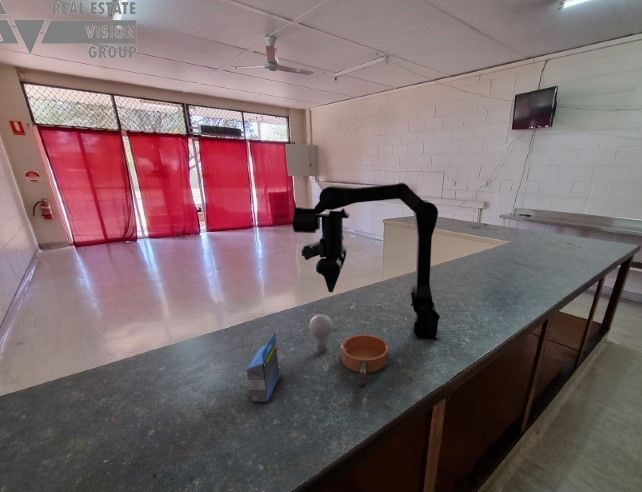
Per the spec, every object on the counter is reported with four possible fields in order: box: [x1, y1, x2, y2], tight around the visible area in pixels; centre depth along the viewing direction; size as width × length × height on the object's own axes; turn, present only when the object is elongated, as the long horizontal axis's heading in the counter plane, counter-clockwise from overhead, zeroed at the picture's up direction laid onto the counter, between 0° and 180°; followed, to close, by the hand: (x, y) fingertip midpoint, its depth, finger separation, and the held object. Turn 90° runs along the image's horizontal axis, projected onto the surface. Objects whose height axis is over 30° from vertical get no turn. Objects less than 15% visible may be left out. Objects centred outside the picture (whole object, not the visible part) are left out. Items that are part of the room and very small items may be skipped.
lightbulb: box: [308, 313, 334, 353], centre depth 85 cm, size 6×6×11 cm
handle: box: [357, 361, 368, 389], centre depth 73 cm, size 2×9×2 cm, turn 178°
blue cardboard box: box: [246, 332, 280, 403], centre depth 70 cm, size 9×4×12 cm, turn 178°
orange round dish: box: [341, 334, 390, 374], centre depth 83 cm, size 12×12×4 cm
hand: (333, 286), depth 93 cm, fingers open, 9 cm apart
